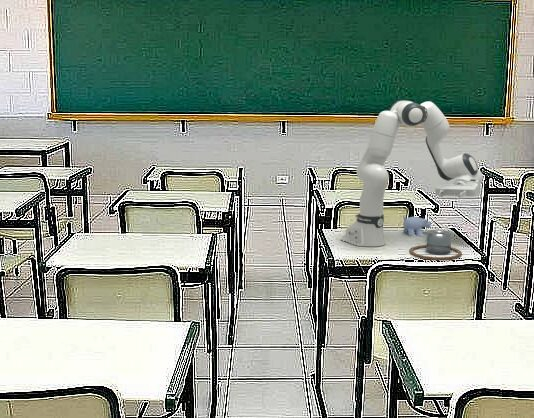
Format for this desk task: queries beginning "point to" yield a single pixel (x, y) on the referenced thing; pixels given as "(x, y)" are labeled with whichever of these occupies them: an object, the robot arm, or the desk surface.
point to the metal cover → (438, 242)
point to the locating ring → (434, 257)
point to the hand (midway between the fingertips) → (449, 195)
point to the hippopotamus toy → (415, 225)
